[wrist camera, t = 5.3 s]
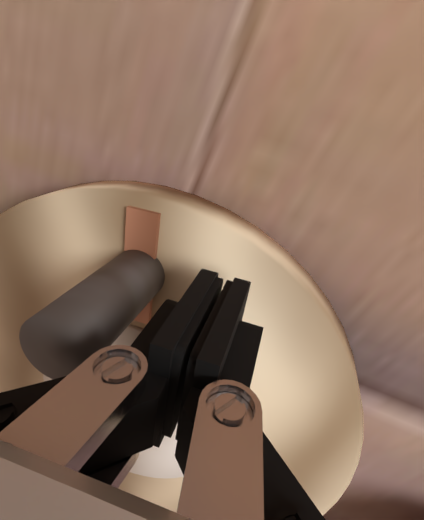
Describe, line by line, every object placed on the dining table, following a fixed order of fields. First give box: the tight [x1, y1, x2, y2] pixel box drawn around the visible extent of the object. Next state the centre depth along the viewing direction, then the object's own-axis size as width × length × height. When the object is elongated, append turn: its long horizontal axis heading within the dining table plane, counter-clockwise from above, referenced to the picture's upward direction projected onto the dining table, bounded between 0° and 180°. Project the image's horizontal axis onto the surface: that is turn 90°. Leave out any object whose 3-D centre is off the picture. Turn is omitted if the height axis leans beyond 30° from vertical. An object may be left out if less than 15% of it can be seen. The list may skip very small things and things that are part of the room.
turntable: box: [0, 181, 363, 516], centre depth 14 cm, size 20×20×6 cm
